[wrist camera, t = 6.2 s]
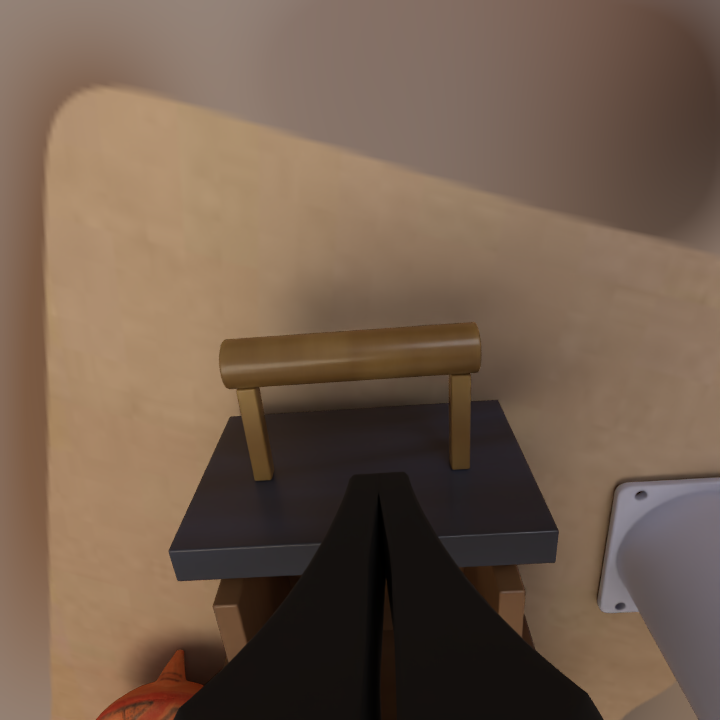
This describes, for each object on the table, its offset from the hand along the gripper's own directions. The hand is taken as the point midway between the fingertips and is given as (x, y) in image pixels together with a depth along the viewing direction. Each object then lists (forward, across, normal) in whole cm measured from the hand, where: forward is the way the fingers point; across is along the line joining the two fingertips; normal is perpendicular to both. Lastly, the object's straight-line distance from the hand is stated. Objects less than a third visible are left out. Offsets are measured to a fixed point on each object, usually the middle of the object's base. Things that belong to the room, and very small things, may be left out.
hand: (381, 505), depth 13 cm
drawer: (+8, +1, +6) cm, 10 cm away
